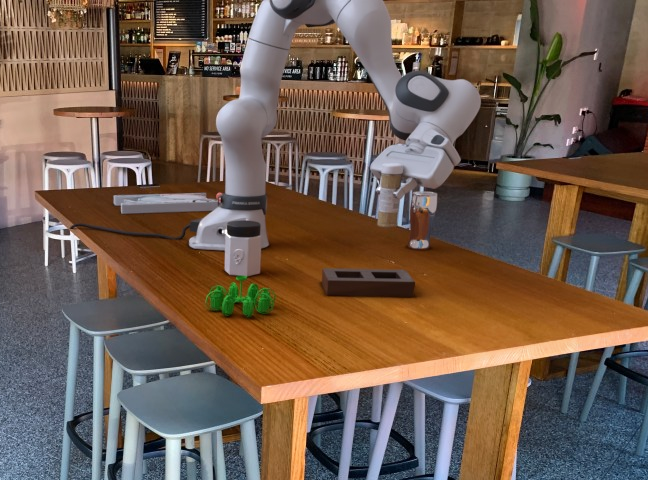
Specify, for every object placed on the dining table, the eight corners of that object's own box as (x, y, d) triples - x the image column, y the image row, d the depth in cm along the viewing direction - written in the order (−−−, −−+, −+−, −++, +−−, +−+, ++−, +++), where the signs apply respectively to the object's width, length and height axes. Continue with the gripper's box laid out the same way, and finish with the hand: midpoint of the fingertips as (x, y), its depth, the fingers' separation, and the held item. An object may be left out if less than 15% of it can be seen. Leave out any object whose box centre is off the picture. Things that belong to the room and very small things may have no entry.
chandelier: (255, 324, 156) (256, 290, 154) (191, 312, 163) (191, 279, 161) (288, 306, 168) (290, 274, 165) (227, 295, 175) (227, 264, 173)
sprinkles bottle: (388, 223, 179) (394, 162, 174) (401, 227, 175) (408, 164, 170) (372, 225, 177) (377, 163, 172) (385, 228, 173) (391, 165, 168)
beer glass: (432, 251, 218) (439, 195, 212) (406, 249, 219) (412, 194, 213) (430, 245, 224) (437, 191, 218) (405, 244, 225) (411, 190, 219)
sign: (220, 210, 273) (206, 200, 291) (220, 201, 272) (206, 192, 290) (121, 213, 266) (113, 203, 284) (121, 204, 264) (113, 195, 282)
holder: (413, 297, 175) (415, 281, 174) (326, 295, 176) (328, 280, 174) (403, 284, 185) (404, 269, 184) (321, 282, 186) (322, 268, 184)
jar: (220, 274, 192) (221, 225, 187) (228, 267, 199) (230, 219, 195) (256, 277, 189) (258, 227, 185) (263, 269, 197) (265, 221, 192)
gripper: (387, 132, 180) (350, 179, 180) (454, 140, 163) (412, 191, 163) (400, 152, 184) (364, 197, 183) (466, 161, 167) (426, 211, 167)
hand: (387, 195), depth 173 cm, fingers closed on sprinkles bottle, 4 cm apart
